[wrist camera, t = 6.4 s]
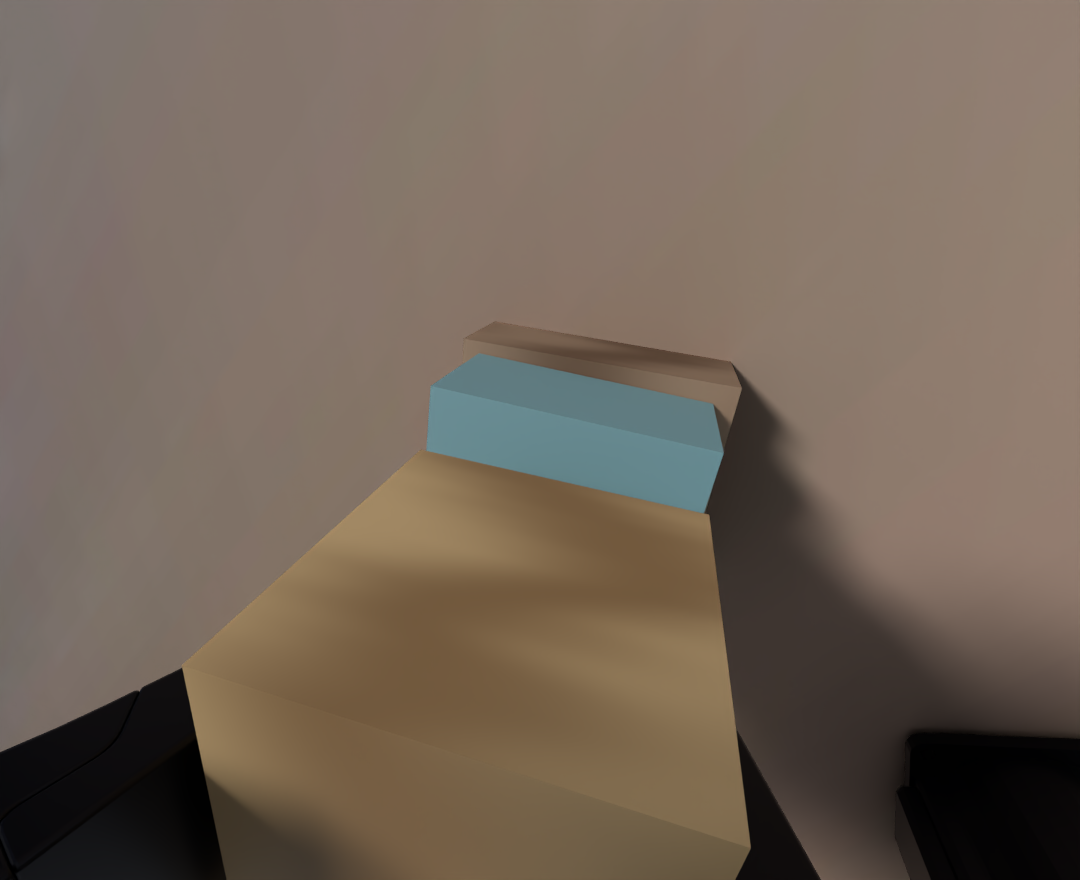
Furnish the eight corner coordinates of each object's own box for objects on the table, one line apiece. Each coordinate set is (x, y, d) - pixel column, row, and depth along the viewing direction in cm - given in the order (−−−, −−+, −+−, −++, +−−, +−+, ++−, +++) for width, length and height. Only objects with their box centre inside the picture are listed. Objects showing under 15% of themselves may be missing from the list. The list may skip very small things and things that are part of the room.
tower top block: (713, 403, 13) (724, 453, 10) (653, 595, 15) (649, 677, 12) (479, 353, 14) (430, 386, 11) (459, 542, 16) (416, 606, 13)
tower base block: (729, 358, 15) (741, 388, 12) (675, 556, 18) (675, 615, 15) (498, 319, 16) (463, 338, 14) (481, 511, 19) (450, 558, 16)
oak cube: (708, 514, 8) (751, 847, 4) (644, 725, 10) (623, 1104, 6) (420, 449, 9) (182, 664, 5) (412, 657, 11) (240, 946, 7)
